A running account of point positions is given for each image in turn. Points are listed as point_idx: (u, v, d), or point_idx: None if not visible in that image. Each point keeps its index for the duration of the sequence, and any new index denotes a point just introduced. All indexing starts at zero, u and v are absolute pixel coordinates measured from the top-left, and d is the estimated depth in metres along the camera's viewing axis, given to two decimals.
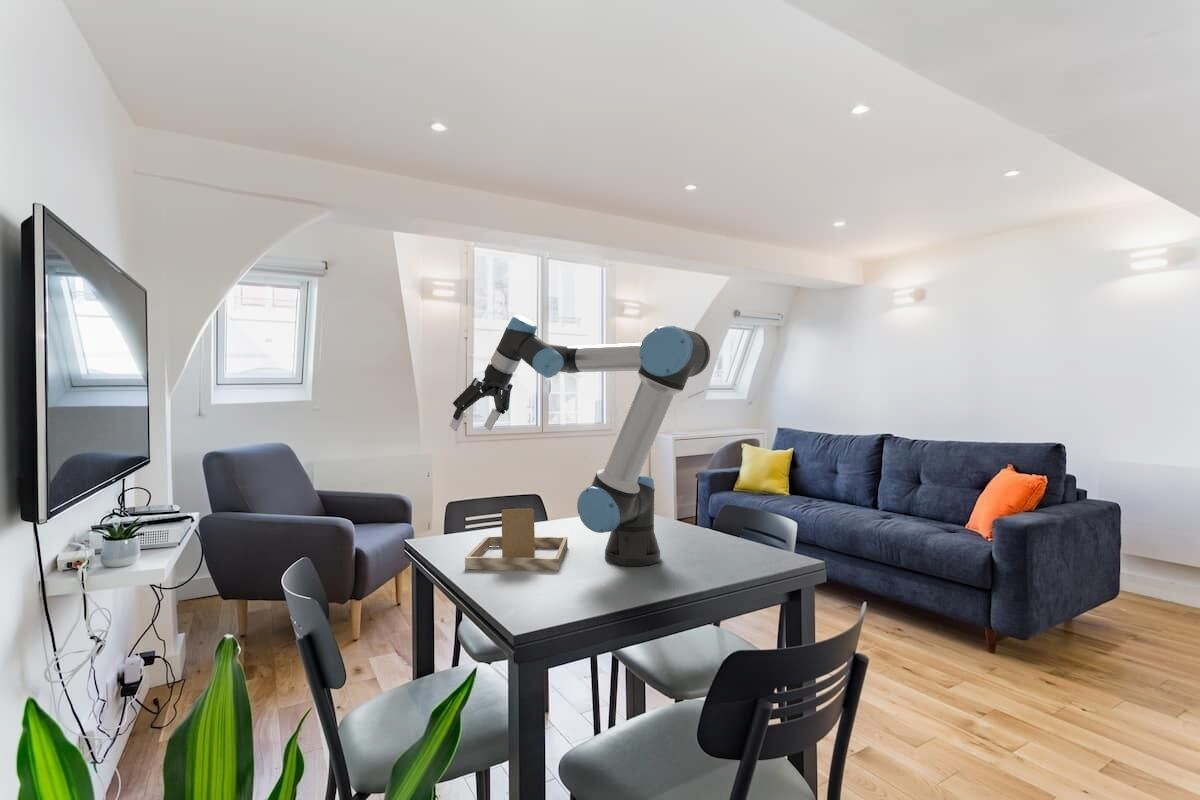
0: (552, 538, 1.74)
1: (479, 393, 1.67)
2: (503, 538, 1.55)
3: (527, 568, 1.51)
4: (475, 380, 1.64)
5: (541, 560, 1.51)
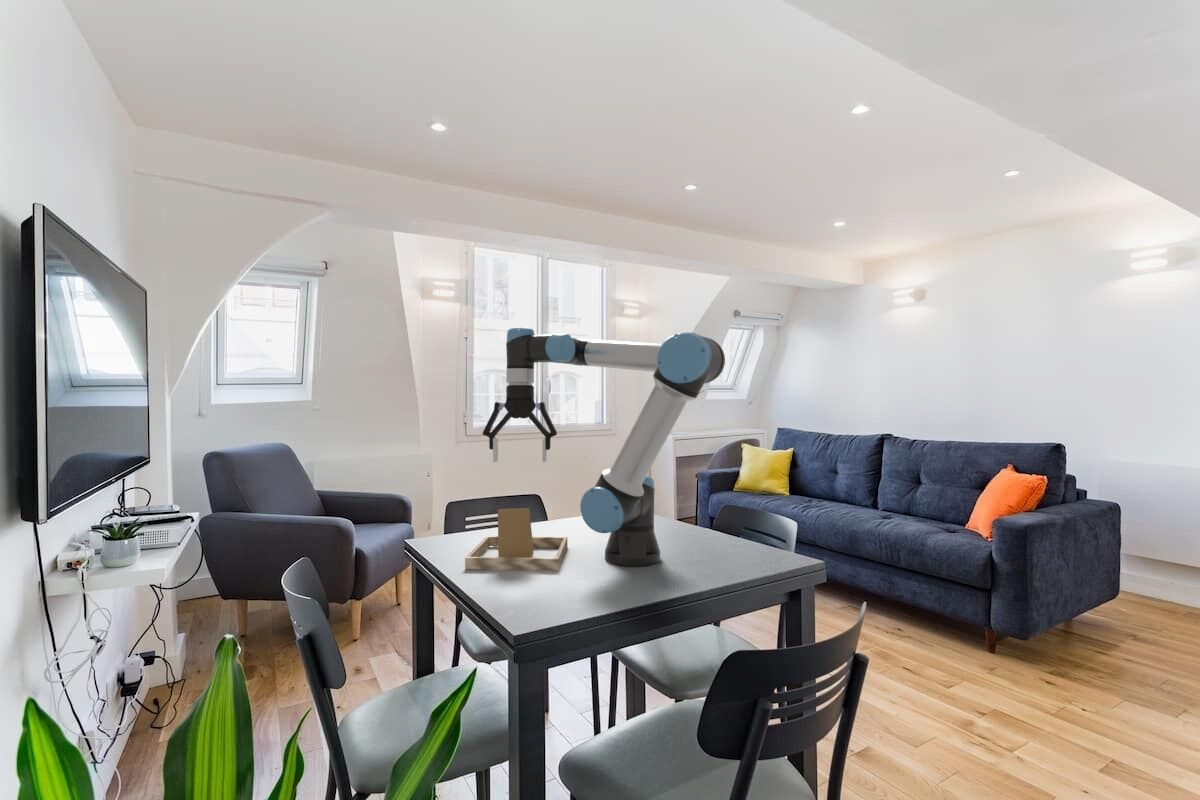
0: (552, 538, 1.74)
1: (505, 416, 1.63)
2: (499, 538, 1.56)
3: (527, 568, 1.51)
4: None
5: (541, 560, 1.51)
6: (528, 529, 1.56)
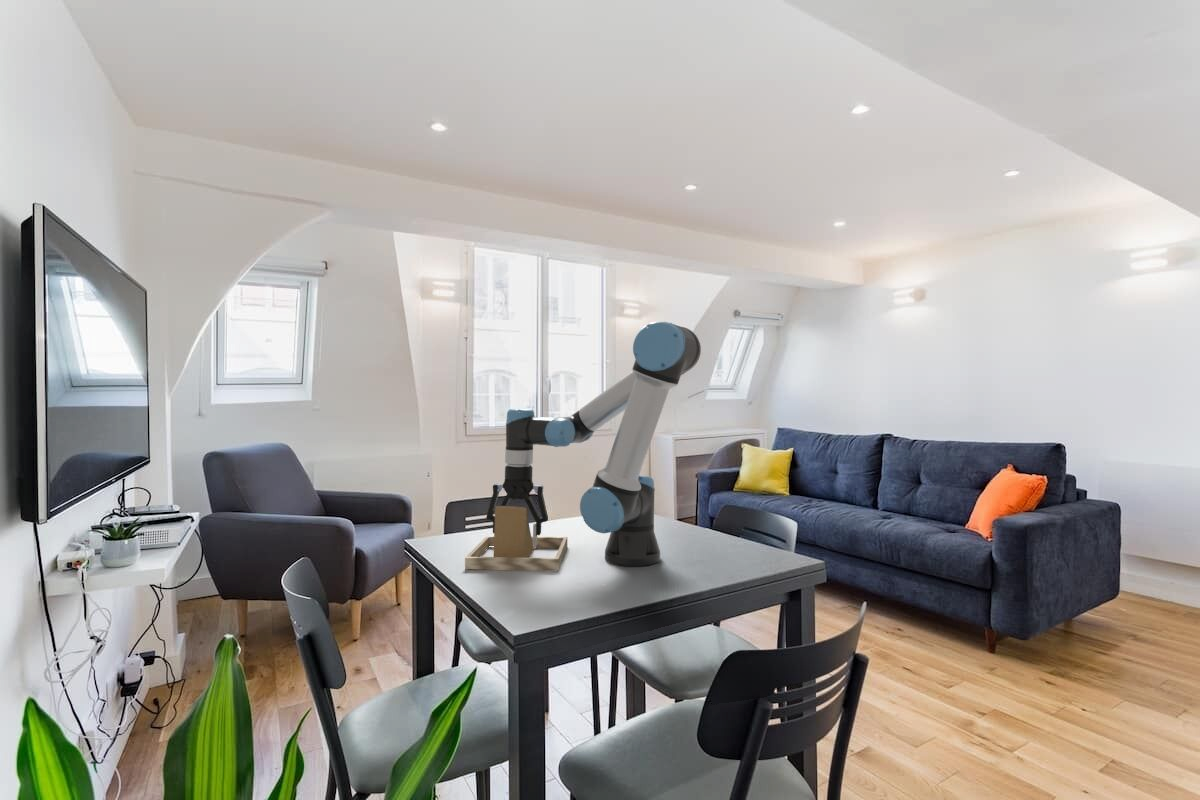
0: (552, 538, 1.74)
1: (505, 498, 1.63)
2: (495, 534, 1.57)
3: (527, 568, 1.51)
4: None
5: (541, 560, 1.51)
6: (524, 528, 1.57)
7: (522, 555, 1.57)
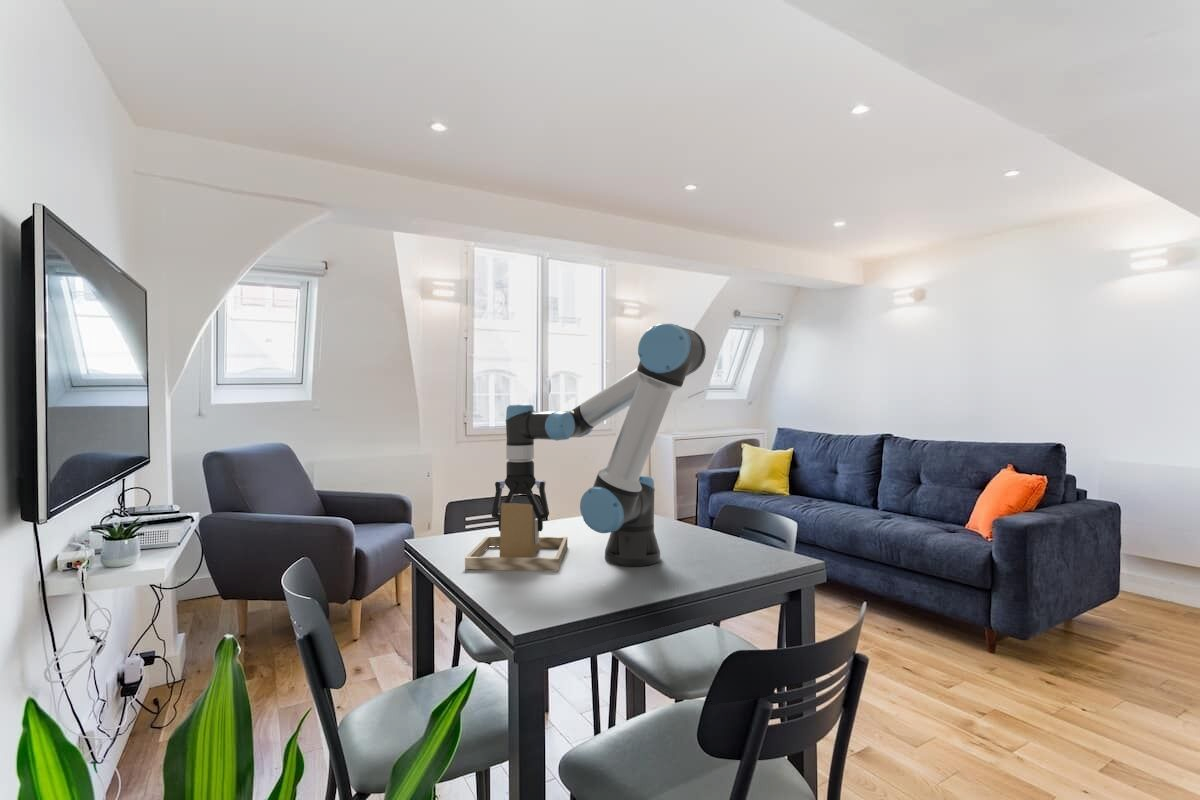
0: (552, 538, 1.74)
1: None
2: (501, 531, 1.57)
3: (527, 568, 1.51)
4: None
5: (541, 560, 1.51)
6: (530, 525, 1.56)
7: (528, 552, 1.56)
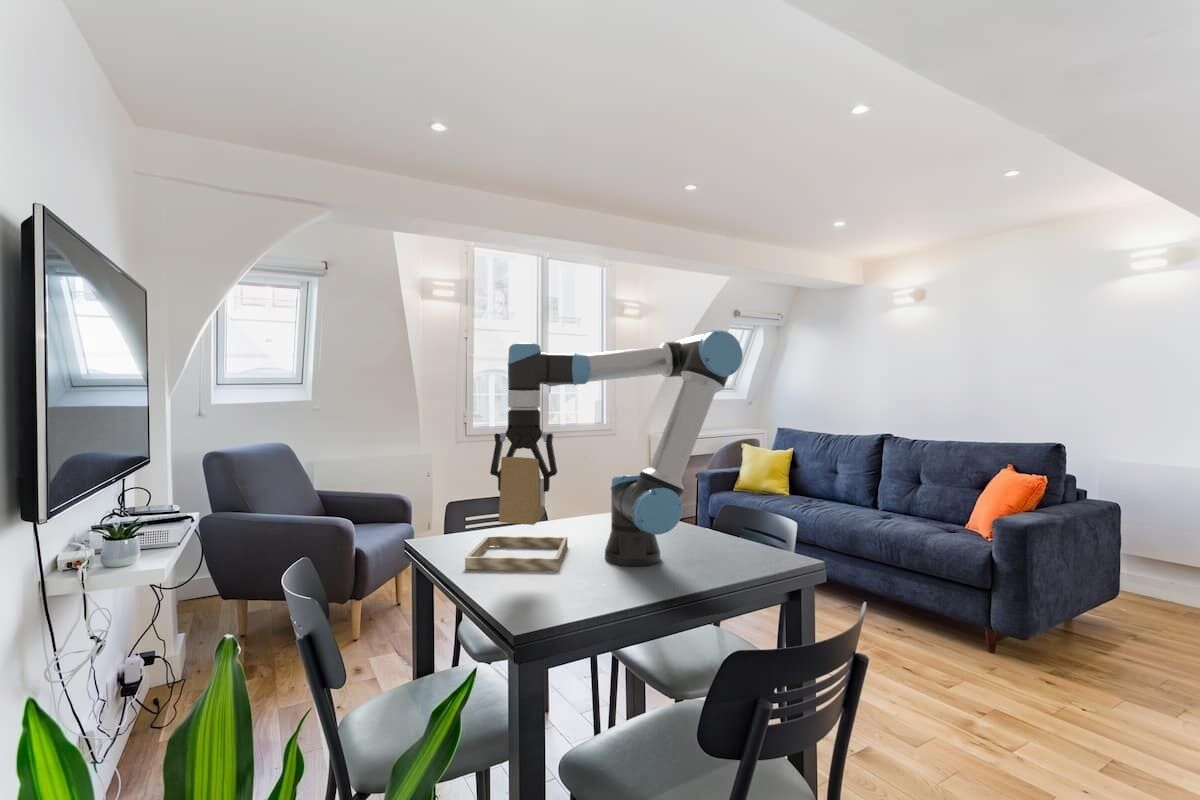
0: (552, 538, 1.74)
1: None
2: (501, 490, 1.34)
3: (527, 568, 1.51)
4: None
5: (541, 560, 1.51)
6: (535, 482, 1.33)
7: (533, 515, 1.33)
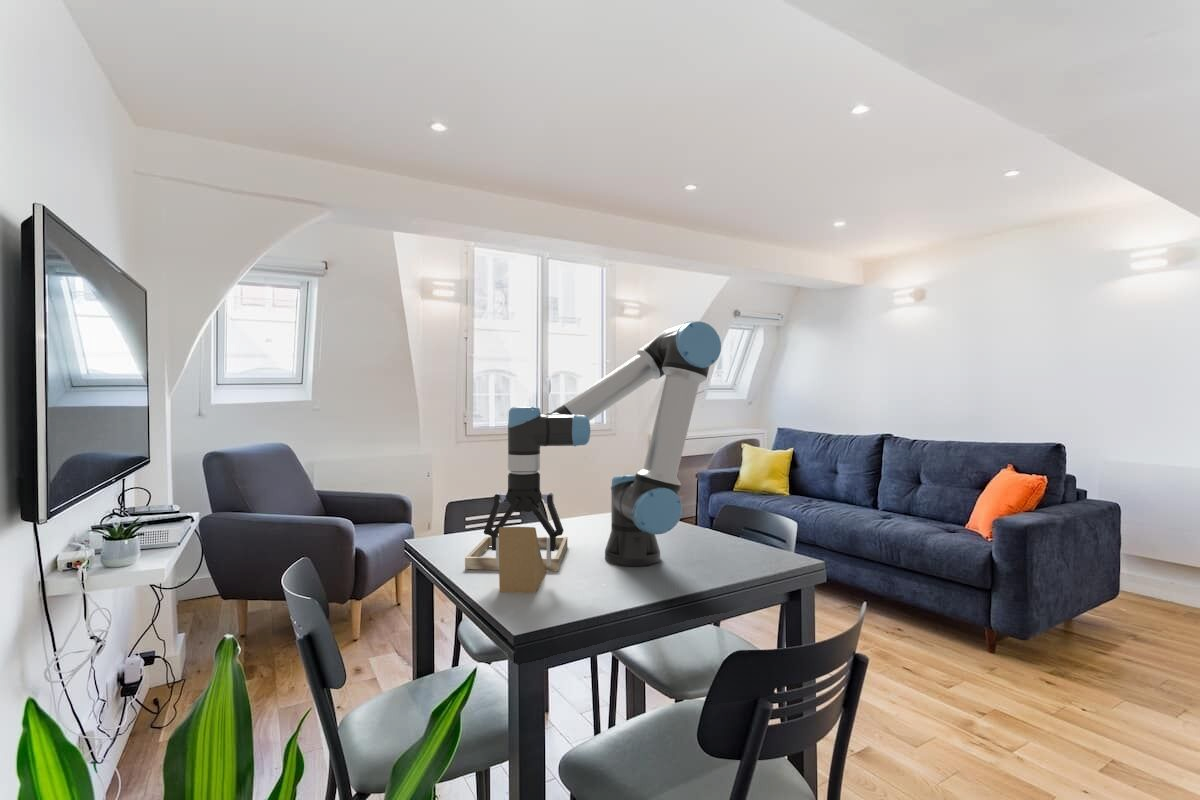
0: None
1: None
2: (500, 560, 1.34)
3: None
4: None
5: None
6: (533, 551, 1.33)
7: (533, 583, 1.33)
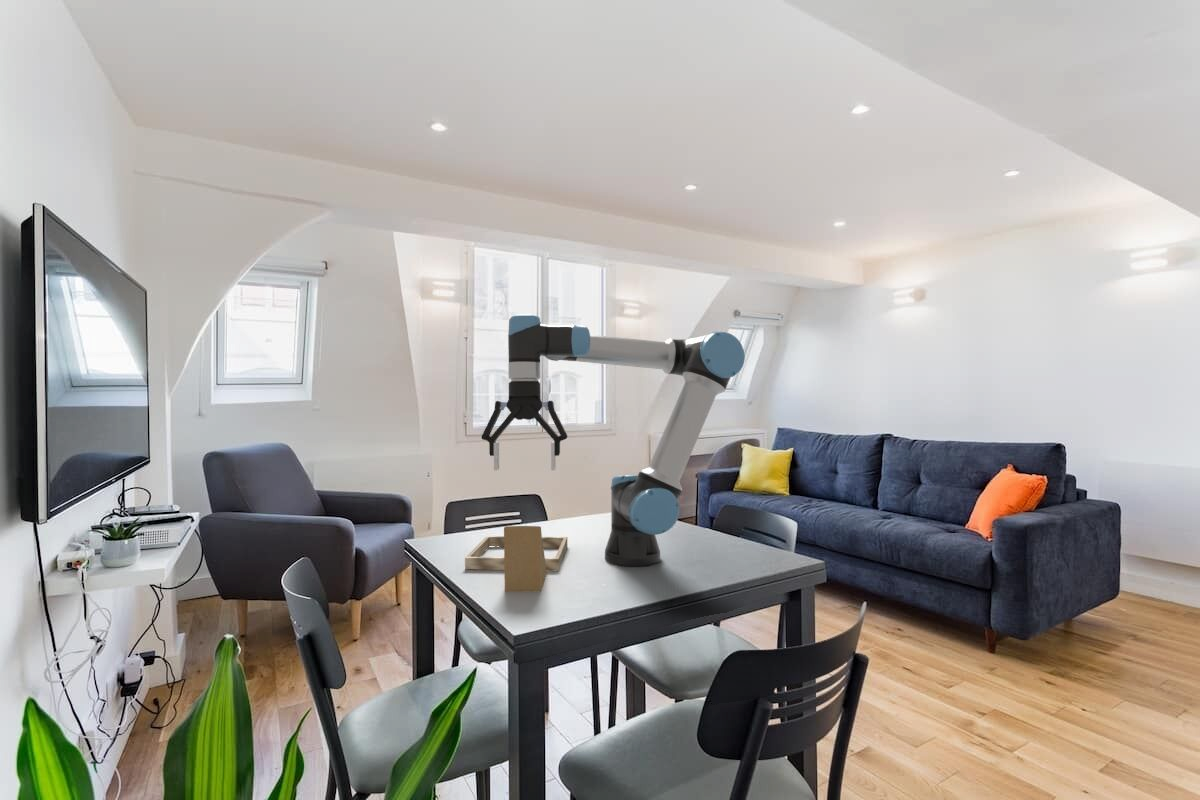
0: (552, 538, 1.74)
1: (507, 417, 1.41)
2: (506, 559, 1.35)
3: None
4: None
5: None
6: (539, 550, 1.34)
7: (538, 582, 1.34)
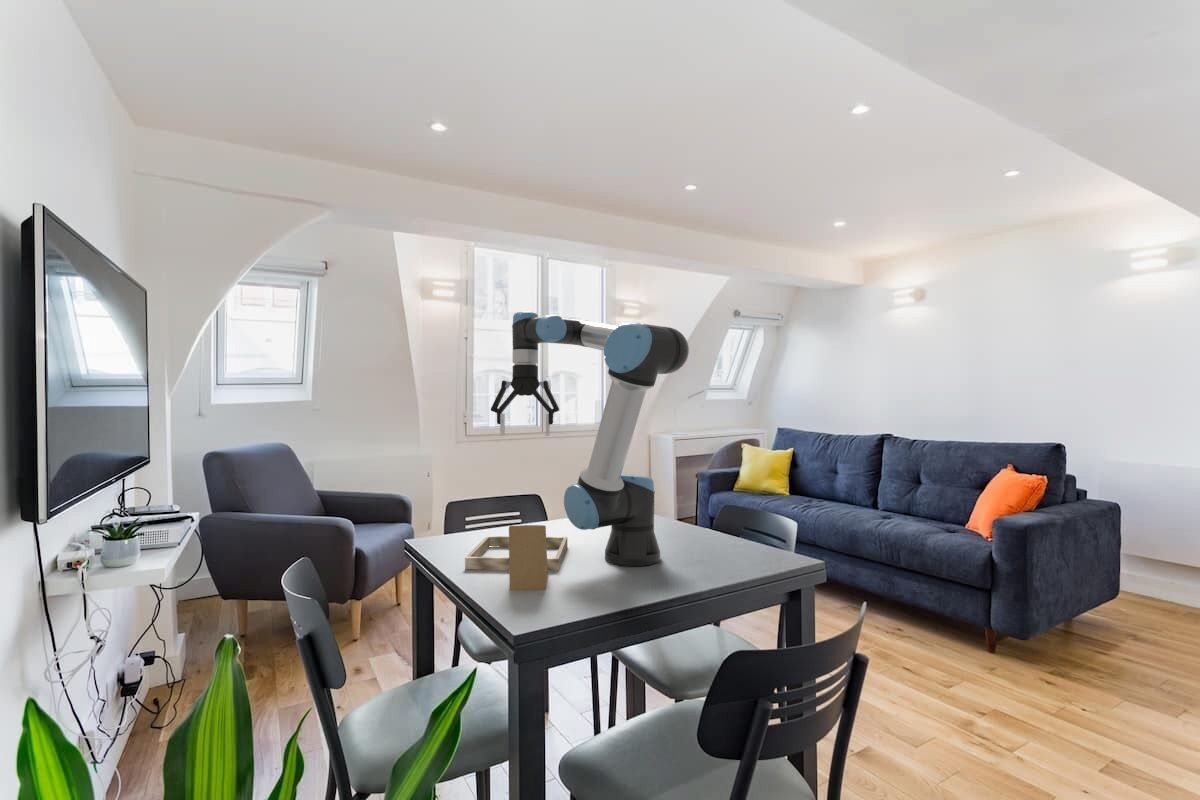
0: (552, 538, 1.74)
1: None
2: (510, 559, 1.35)
3: None
4: None
5: None
6: (544, 549, 1.35)
7: (543, 581, 1.35)
